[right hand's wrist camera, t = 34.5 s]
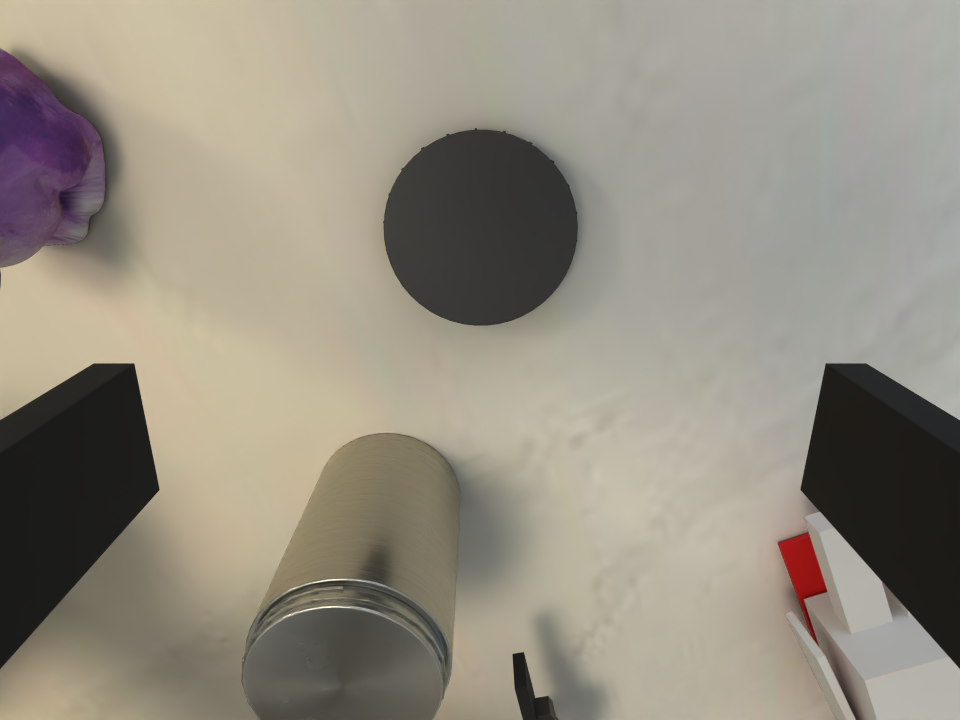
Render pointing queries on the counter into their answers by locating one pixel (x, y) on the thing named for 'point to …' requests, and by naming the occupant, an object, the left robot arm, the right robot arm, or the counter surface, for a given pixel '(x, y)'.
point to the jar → (362, 592)
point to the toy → (864, 636)
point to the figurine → (43, 167)
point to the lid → (480, 227)
